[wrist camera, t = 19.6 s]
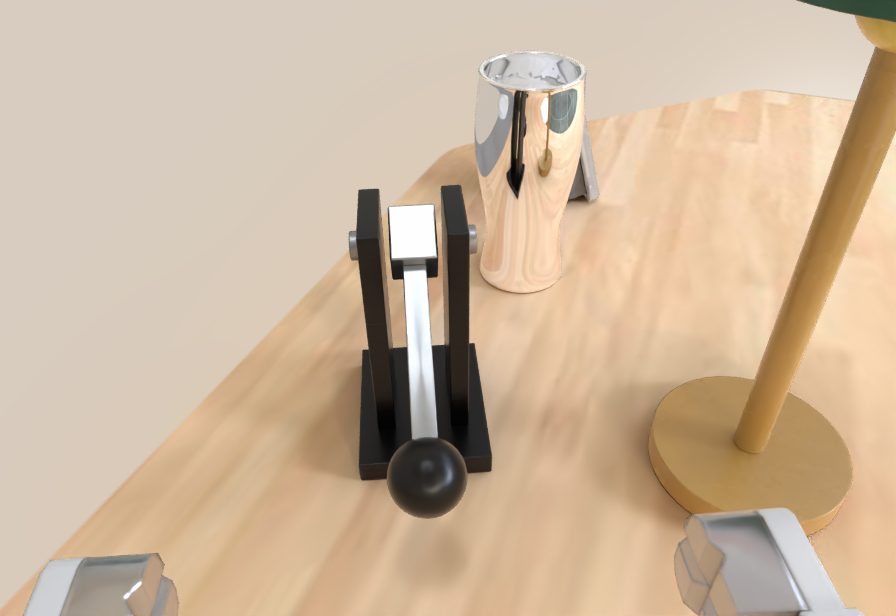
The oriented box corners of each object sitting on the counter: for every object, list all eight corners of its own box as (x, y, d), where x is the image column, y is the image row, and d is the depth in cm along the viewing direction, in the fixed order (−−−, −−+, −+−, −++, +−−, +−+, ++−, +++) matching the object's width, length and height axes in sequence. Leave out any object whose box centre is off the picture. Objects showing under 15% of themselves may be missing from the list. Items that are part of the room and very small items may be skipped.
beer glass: (553, 239, 55) (571, 46, 46) (579, 292, 50) (605, 86, 40) (466, 247, 54) (466, 53, 45) (482, 302, 49) (486, 95, 40)
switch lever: (468, 518, 31) (472, 512, 28) (390, 524, 31) (386, 518, 27) (445, 230, 36) (447, 197, 32) (378, 234, 36) (373, 200, 32)
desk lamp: (587, 466, 38) (720, -309, 18) (693, 354, 45) (875, -299, 25) (811, 610, 31) (1397, -347, 12) (896, 453, 38) (1358, -321, 18)
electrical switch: (600, 203, 59) (604, 99, 53) (543, 218, 59) (540, 114, 53) (558, 155, 66) (557, 58, 60) (506, 167, 66) (500, 71, 60)
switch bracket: (491, 471, 38) (499, 261, 29) (361, 480, 37) (329, 270, 29) (474, 357, 45) (476, 161, 36) (364, 364, 44) (339, 167, 36)
